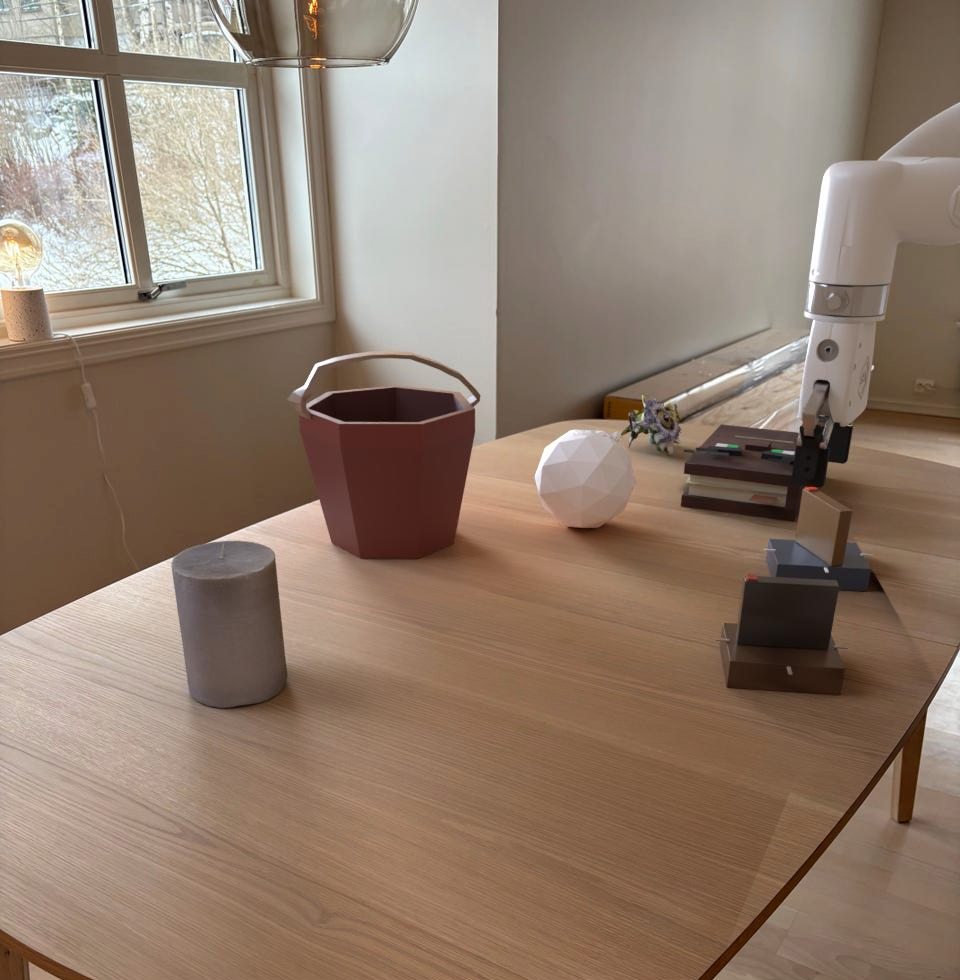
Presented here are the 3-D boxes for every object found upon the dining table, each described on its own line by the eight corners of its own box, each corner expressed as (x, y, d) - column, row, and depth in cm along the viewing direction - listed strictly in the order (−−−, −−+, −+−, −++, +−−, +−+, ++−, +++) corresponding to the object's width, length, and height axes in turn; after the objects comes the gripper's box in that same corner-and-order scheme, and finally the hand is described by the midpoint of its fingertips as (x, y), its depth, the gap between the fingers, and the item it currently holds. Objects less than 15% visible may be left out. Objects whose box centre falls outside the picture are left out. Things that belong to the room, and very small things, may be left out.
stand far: (857, 558, 130) (861, 536, 128) (880, 599, 118) (884, 574, 117) (755, 553, 131) (758, 531, 130) (767, 592, 120) (770, 568, 118)
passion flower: (664, 483, 177) (669, 441, 166) (609, 465, 180) (609, 422, 170) (688, 437, 181) (693, 393, 171) (633, 420, 184) (635, 375, 174)
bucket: (290, 566, 127) (272, 369, 116) (317, 510, 147) (304, 337, 136) (479, 566, 127) (479, 369, 116) (481, 511, 147) (481, 338, 136)
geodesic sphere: (627, 462, 149) (579, 391, 141) (677, 489, 137) (628, 413, 129) (553, 529, 149) (501, 462, 141) (598, 562, 137) (543, 490, 129)
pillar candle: (232, 655, 105) (216, 521, 98) (307, 675, 100) (295, 537, 94) (167, 695, 97) (144, 552, 90) (245, 719, 93) (227, 571, 86)
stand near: (831, 645, 107) (836, 619, 105) (856, 706, 95) (861, 677, 94) (708, 638, 108) (711, 612, 107) (717, 697, 97) (720, 668, 95)
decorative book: (834, 427, 162) (809, 476, 137) (827, 472, 165) (801, 527, 140) (717, 415, 169) (673, 460, 144) (712, 458, 172) (668, 509, 148)
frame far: (842, 565, 120) (853, 508, 116) (830, 566, 119) (840, 509, 116) (806, 539, 127) (814, 486, 124) (794, 540, 127) (802, 486, 124)
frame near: (825, 643, 101) (837, 577, 97) (828, 650, 99) (840, 584, 96) (735, 637, 102) (744, 572, 98) (737, 644, 100) (745, 579, 97)
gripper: (866, 316, 87) (836, 501, 95) (903, 294, 100) (874, 458, 108) (782, 310, 91) (759, 489, 98) (828, 289, 104) (805, 448, 111)
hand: (819, 472), depth 103 cm, fingers open, 9 cm apart
